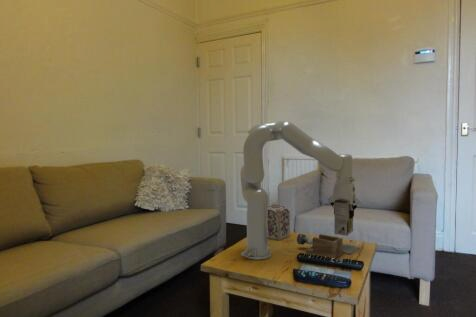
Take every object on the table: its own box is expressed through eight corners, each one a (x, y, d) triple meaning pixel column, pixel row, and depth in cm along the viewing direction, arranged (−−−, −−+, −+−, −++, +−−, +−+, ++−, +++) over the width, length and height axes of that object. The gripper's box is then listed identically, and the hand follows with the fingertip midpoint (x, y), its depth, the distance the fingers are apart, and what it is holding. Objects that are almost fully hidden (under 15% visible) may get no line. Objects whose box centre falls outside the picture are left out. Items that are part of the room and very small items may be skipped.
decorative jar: (279, 241, 181) (279, 206, 180) (260, 237, 188) (260, 204, 187) (290, 235, 191) (290, 203, 190) (272, 232, 198) (272, 200, 197)
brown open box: (333, 259, 153) (334, 243, 153) (305, 253, 162) (305, 237, 162) (343, 253, 161) (343, 237, 160) (315, 247, 170) (315, 232, 169)
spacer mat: (350, 254, 160) (350, 253, 160) (326, 249, 167) (326, 248, 167) (360, 247, 169) (360, 246, 169) (336, 243, 177) (336, 241, 177)
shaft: (322, 250, 159) (322, 240, 159) (296, 244, 168) (296, 235, 168) (327, 247, 163) (327, 237, 163) (301, 242, 172) (301, 232, 171)
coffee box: (340, 229, 173) (340, 197, 172) (353, 231, 170) (353, 198, 168) (333, 233, 166) (333, 200, 165) (347, 236, 162) (347, 201, 161)
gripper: (365, 180, 163) (364, 218, 164) (330, 178, 174) (330, 213, 176) (358, 182, 157) (358, 221, 159) (323, 179, 169) (323, 216, 170)
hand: (343, 216), depth 167 cm, fingers closed on coffee box, 6 cm apart
